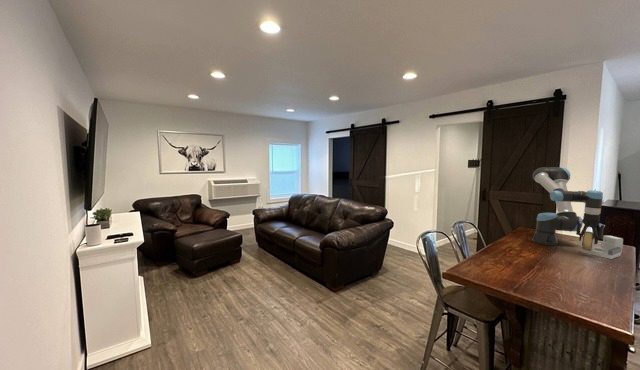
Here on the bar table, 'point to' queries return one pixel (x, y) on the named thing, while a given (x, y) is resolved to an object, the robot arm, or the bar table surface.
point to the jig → (604, 252)
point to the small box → (612, 242)
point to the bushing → (588, 241)
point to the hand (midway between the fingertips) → (587, 246)
